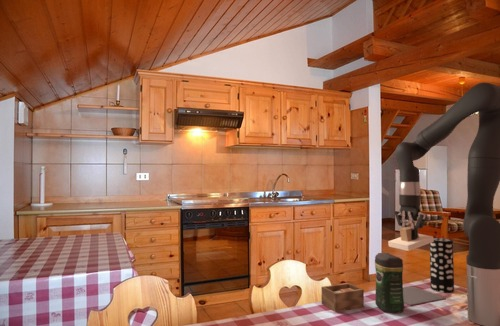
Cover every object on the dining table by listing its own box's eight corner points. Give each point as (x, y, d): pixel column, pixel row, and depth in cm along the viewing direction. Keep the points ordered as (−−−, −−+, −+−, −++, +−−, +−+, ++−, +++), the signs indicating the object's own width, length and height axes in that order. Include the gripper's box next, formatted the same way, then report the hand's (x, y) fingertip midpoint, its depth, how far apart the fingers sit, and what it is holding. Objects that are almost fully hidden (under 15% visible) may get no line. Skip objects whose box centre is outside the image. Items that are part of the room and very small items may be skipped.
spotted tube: (454, 294, 131) (452, 242, 132) (429, 290, 135) (428, 240, 136) (454, 288, 138) (453, 239, 139) (431, 285, 142) (430, 237, 143)
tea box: (348, 299, 125) (348, 282, 125) (363, 306, 118) (363, 289, 118) (321, 303, 120) (321, 286, 121) (335, 312, 113) (335, 293, 113)
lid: (413, 237, 137) (410, 221, 137) (433, 241, 128) (431, 224, 128) (388, 246, 132) (386, 230, 132) (408, 251, 123) (405, 233, 123)
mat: (412, 287, 139) (412, 286, 139) (445, 298, 126) (445, 297, 126) (378, 292, 132) (378, 291, 133) (410, 305, 119) (410, 304, 119)
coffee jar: (408, 313, 112) (407, 257, 113) (385, 314, 111) (384, 257, 112) (393, 303, 121) (392, 250, 122) (372, 303, 121) (371, 251, 122)
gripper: (388, 193, 136) (389, 236, 135) (417, 194, 123) (418, 242, 122) (402, 192, 139) (403, 235, 138) (432, 194, 126) (433, 241, 125)
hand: (410, 238), depth 130 cm, fingers closed on lid, 3 cm apart
